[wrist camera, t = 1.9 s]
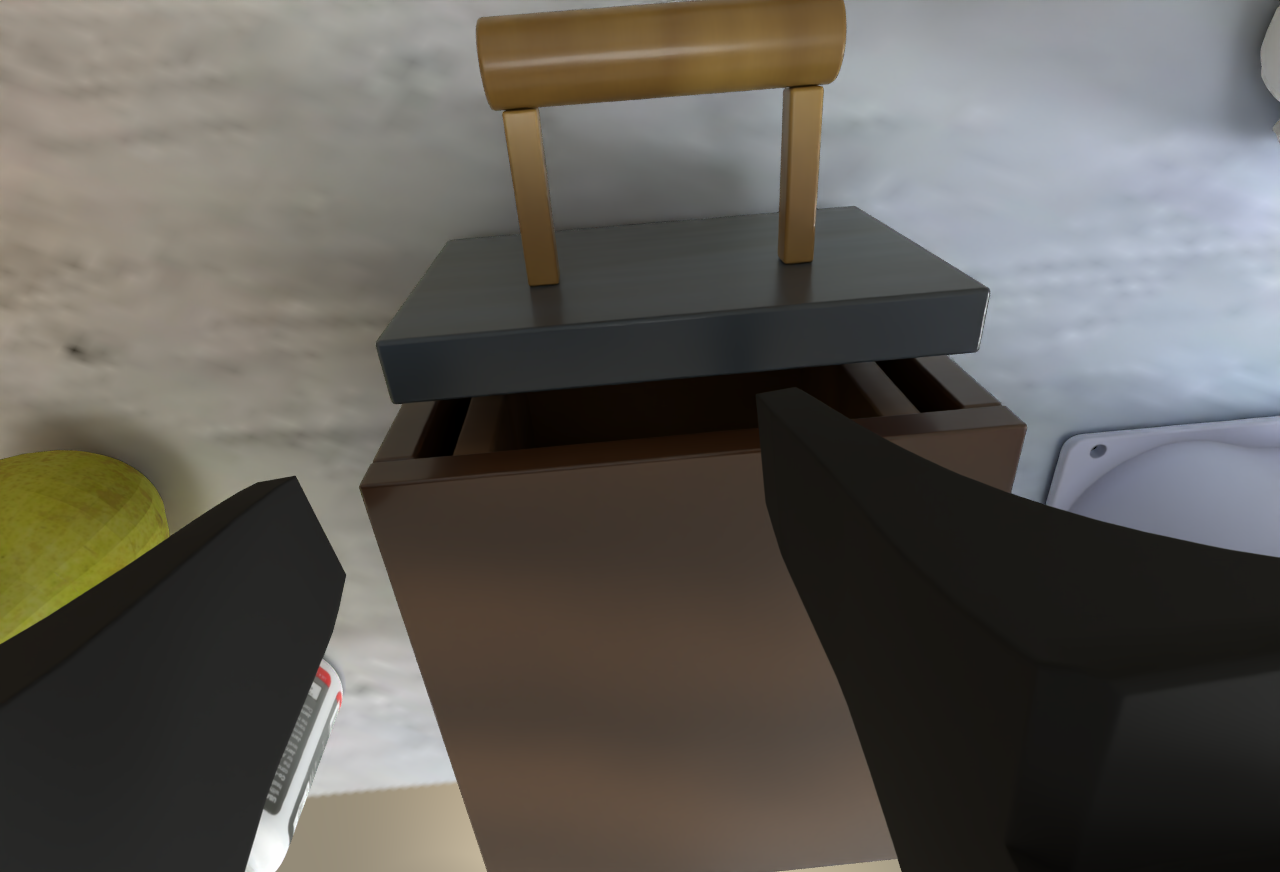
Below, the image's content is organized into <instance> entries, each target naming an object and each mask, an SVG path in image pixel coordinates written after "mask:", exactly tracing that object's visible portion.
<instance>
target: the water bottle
mask: <svg viewBox="0 0 1280 872" xmlns="http://www.w3.org/2000/svg"><path fill="white" fill-rule="evenodd" d="M1261 65H1262V70H1261V77H1262V79H1263V81H1264V83H1265V85H1266V87H1267V88H1268V90H1269V91H1270V92H1271V93H1272V95H1273V96H1274V97H1275V98H1276V99H1277V100H1278V101H1280V6H1279V7H1278V8H1277V9H1276V12H1275V14H1274V16H1273V18H1272V21H1271V23H1270V25H1269V27H1268V30H1267V32H1266V35H1265V38H1264V41H1263V44H1262V47H1261ZM1272 129H1273V131H1274V133H1275V134H1276V136H1277V138H1278V141H1279V143H1280V119H1279V120H1278V121H1277V122H1276V124H1275V125H1274V127H1273V128H1272Z"/></svg>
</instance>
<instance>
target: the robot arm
mask: <svg viewBox="0 0 1280 872" xmlns="http://www.w3.org/2000/svg"><path fill="white" fill-rule="evenodd" d="M756 404H757V415H758V426H759V437H760V448H761V459H762V470H763V481H764V492H765V503H766V506H767V510H768V513H769V516H770V520H771V523H772V527H773V530H774V533H775V536H776V540H777V543H778V546H779V549H780V553H781V556H782V558H783V560H784V562H785V565H786V567H787V569H788V572H789V574H790V576H791V578H792V580H793V583H794V585H795V587H796V589H797V592H798V594H799V596H800V598H801V600H802V603H803V605H804V607H805V609H806V611H807V614H808V616H809V618H810V620H811V622H812V625H813V627H814V629H815V631H816V633H817V636H818V638H819V640H820V642H821V644H822V647H823V649H824V651H825V653H826V655H827V658H828V660H829V662H830V664H831V666H832V669H833V671H834V673H835V675H836V678H837V680H838V683H839V685H840V688H841V690H842V693H843V695H844V698H845V700H846V703H847V705H848V708H849V711H850V714H851V717H852V720H853V723H854V726H855V729H856V732H857V735H858V738H859V741H860V744H861V747H862V750H863V753H864V756H865V759H866V762H867V765H868V768H869V771H870V774H871V777H872V780H873V783H874V786H875V789H876V792H877V796H878V799H879V802H880V805H881V808H882V811H883V814H884V817H885V820H886V823H887V827H888V830H889V833H890V836H891V839H892V842H893V845H894V849H895V852H896V855H897V858H898V861H899V864H900V868H901V871H902V872H1280V416H1272V417H1261V418H1250V419H1240V420H1229V421H1218V422H1207V423H1196V424H1185V425H1175V426H1164V427H1153V428H1142V429H1131V430H1120V431H1110V432H1099V433H1088V434H1079V435H1075V436H1073V437H1071V438H1069V439H1068V440H1067V441H1066V442H1065V443H1064V445H1063V447H1062V449H1061V452H1060V456H1059V459H1058V463H1057V466H1056V470H1055V473H1054V477H1053V480H1052V484H1051V487H1050V491H1049V494H1048V498H1047V501H1046V505H1044V504H1041V503H1038V502H1035V501H1032V500H1029V499H1026V498H1023V497H1020V496H1017V495H1014V494H1011V493H1008V492H1005V491H1003V490H1000V489H997V488H995V487H992V486H989V485H987V484H984V483H982V482H979V481H976V480H974V479H971V478H968V477H966V476H963V475H961V474H958V473H956V472H954V471H951V470H949V469H947V468H944V467H942V466H940V465H938V464H936V463H933V462H931V461H929V460H927V459H925V458H923V457H921V456H919V455H917V454H915V453H912V452H910V451H908V450H906V449H904V448H902V447H900V446H898V445H896V444H894V443H892V442H891V441H889V440H887V439H885V438H883V437H881V436H879V435H877V434H876V433H874V432H872V431H870V430H868V429H867V428H865V427H863V426H861V425H860V424H858V423H856V422H854V421H853V420H851V419H849V418H848V417H846V416H844V415H842V414H841V413H839V412H837V411H836V410H834V409H832V408H831V407H829V406H828V405H826V404H824V403H823V402H821V401H819V400H818V399H816V398H814V397H813V396H811V395H809V394H808V393H806V392H804V391H802V390H800V389H799V388H797V387H793V388H787V389H781V390H776V391H770V392H764V393H759V394H756ZM1097 445H1098V446H1097ZM1095 446H1097V448H1096V449H1094V450H1093V451H1091V450H1092V448H1094V447H1095ZM345 578H346V574H345V572H344V570H343V568H342V566H341V564H340V562H339V560H338V558H337V556H336V554H335V552H334V550H333V548H332V546H331V544H330V542H329V540H328V538H327V536H326V534H325V533H324V531H323V529H322V527H321V525H320V523H319V521H318V519H317V517H316V515H315V513H314V511H313V509H312V507H311V505H310V503H309V501H308V499H307V497H306V495H305V493H304V491H303V489H302V487H301V486H300V484H299V482H298V480H297V478H296V476H291V477H286V478H280V479H275V480H269V481H263V482H258V483H256V484H254V485H252V486H250V487H248V488H246V489H244V490H242V491H240V492H238V493H236V494H235V495H233V496H231V497H230V498H228V499H226V500H225V501H223V502H221V503H220V504H218V505H217V506H215V507H214V508H212V509H210V510H209V511H207V512H206V513H204V514H203V515H201V516H200V517H198V518H197V519H195V520H194V521H192V522H191V523H189V524H188V525H186V526H185V527H183V528H182V529H180V530H179V531H177V532H176V533H174V534H173V535H171V536H170V537H168V538H167V539H165V540H164V541H162V542H161V543H159V544H158V545H156V546H155V547H153V548H152V549H151V550H149V551H148V552H146V553H145V554H143V555H142V556H140V557H139V558H137V559H136V560H134V561H133V562H131V563H130V564H128V565H127V566H125V567H124V568H122V569H121V570H119V571H117V572H116V573H114V574H113V575H111V576H110V577H108V578H107V579H105V580H103V581H102V582H100V583H99V584H97V585H96V586H94V587H92V588H91V589H89V590H88V591H86V592H85V593H83V594H82V595H80V596H78V597H77V598H75V599H74V600H72V601H71V602H69V603H67V604H66V605H64V606H63V607H61V608H60V609H58V610H57V611H55V612H53V613H52V614H50V615H49V616H47V617H45V618H44V619H42V620H40V621H39V622H37V623H35V624H34V625H32V626H30V627H29V628H27V629H25V630H24V631H22V632H20V633H18V634H17V635H15V636H13V637H12V638H10V639H8V640H6V641H5V642H3V643H1V644H0V872H245V870H246V866H247V863H248V859H249V856H250V853H251V849H252V846H253V842H254V839H255V836H256V832H257V829H258V825H259V822H260V819H261V815H262V812H263V808H264V805H265V802H266V799H267V796H268V793H269V790H270V787H271V785H272V782H273V779H274V776H275V774H276V771H277V768H278V766H279V763H280V761H281V758H282V756H283V754H284V751H285V749H286V746H287V744H288V741H289V739H290V737H291V734H292V732H293V729H294V727H295V724H296V722H297V720H298V717H299V715H300V712H301V710H302V708H303V705H304V703H305V700H306V698H307V695H308V693H309V691H310V688H311V686H312V683H313V681H314V678H315V676H316V673H317V671H318V668H319V666H320V663H321V661H322V658H323V656H324V653H325V651H326V648H327V646H328V643H329V641H330V638H331V635H332V633H333V629H334V625H335V622H336V618H337V614H338V610H339V606H340V602H341V597H342V592H343V588H344V583H345Z"/></svg>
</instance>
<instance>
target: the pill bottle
mask: <svg viewBox="0 0 1280 872" xmlns="http://www.w3.org/2000/svg"><path fill="white" fill-rule="evenodd" d="M342 698H343V689H342V684H341V681H340V679H339V677H338V675H337V673H336V672H335V670H334V669H333V668H332V667H331V665H330V664H329V663H327V662H326V661H325V660H324V659H322V661H321V663H320V666H319V668H318V671H317V673H316V676H315V678H314V681H313V683H312V686H311V688H310V691H309V693H308V695H307V698H306V700H305V703H304V705H303V708H302V710H301V712H300V715H299V717H298V720H297V722H296V724H295V727H294V729H293V732H292V734H291V737H290V739H289V741H288V744H287V746H286V749H285V751H284V754H283V756H282V758H281V761H280V763H279V766H278V768H277V771H276V774H275V776H274V779H273V782H272V785H271V787H270V790H269V793H268V796H267V799H266V802H265V805H264V808H263V812H262V815H261V819H260V822H259V825H258V829H257V832H256V836H255V839H254V842H253V846H252V849H251V853H250V856H249V859H248V863H247V866H246V870H245V872H275V871H276V870H277V869H278V867H279V866H280V865H281V863H282V861H283V859H284V857H285V855H286V852H287V850H288V847H289V845H290V843H291V840H292V837H293V834H294V831H295V828H296V826H297V823H298V820H299V817H300V814H301V812H302V809H303V806H304V804H305V801H306V798H307V795H308V793H309V790H310V787H311V785H312V782H313V779H314V776H315V773H316V771H317V768H318V765H319V763H320V760H321V757H322V754H323V751H324V749H325V746H326V744H327V741H328V738H329V735H330V733H331V730H332V728H333V725H334V722H335V720H336V717H337V714H338V712H339V709H340V706H341V703H342Z"/></svg>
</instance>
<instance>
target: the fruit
mask: <svg viewBox="0 0 1280 872" xmlns="http://www.w3.org/2000/svg"><path fill="white" fill-rule="evenodd" d="M168 537H170V536H169V528H168V523H167V519H166V514H165V510H164V505H163V501H162V499H161V497H160V495H159V493H158V491H157V489H156V488H155V487H154V486H153V484H152V483H151V482H150V481H149V480H148V479H147V478H146V477H145V476H144V475H143V474H142V473H140V472H139V471H138V470H136V469H135V468H133V467H131V466H129V465H128V464H126V463H124V462H122V461H119V460H117V459H114V458H111V457H108V456H104V455H99V454H95V453H90V452H84V451H73V450H54V451H44V452H35V453H27V454H21V455H17V456H13V457H9V458H5V459H1V460H0V644H1V643H3V642H5V641H6V640H8V639H10V638H12V637H13V636H15V635H17V634H18V633H20V632H22V631H24V630H25V629H27V628H29V627H30V626H32V625H34V624H35V623H37V622H39V621H40V620H42V619H44V618H45V617H47V616H49V615H50V614H52V613H53V612H55V611H57V610H58V609H60V608H61V607H63V606H64V605H66V604H67V603H69V602H71V601H72V600H74V599H75V598H77V597H78V596H80V595H82V594H83V593H85V592H86V591H88V590H89V589H91V588H92V587H94V586H96V585H97V584H99V583H100V582H102V581H103V580H105V579H107V578H108V577H110V576H111V575H113V574H114V573H116V572H117V571H119V570H121V569H122V568H124V567H125V566H127V565H128V564H130V563H131V562H133V561H134V560H136V559H137V558H139V557H140V556H142V555H143V554H145V553H146V552H148V551H149V550H151V549H152V548H153V547H155V546H156V545H158V544H159V543H161V542H162V541H164V540H165V539H167V538H168Z"/></svg>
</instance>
